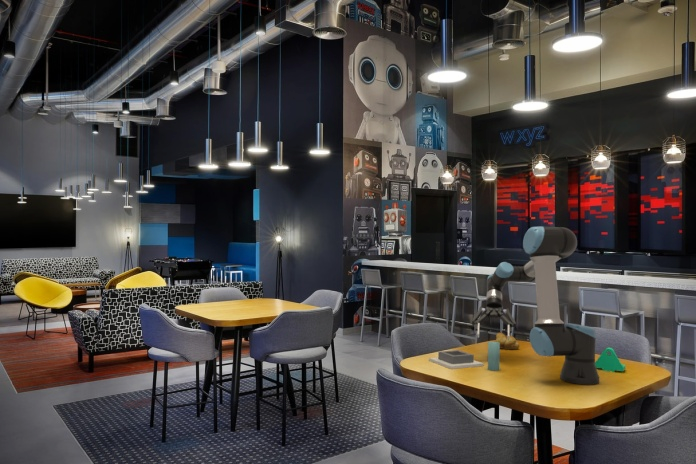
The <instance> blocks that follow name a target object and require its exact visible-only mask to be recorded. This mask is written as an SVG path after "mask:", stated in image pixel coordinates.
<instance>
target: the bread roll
mask: <svg viewBox="0 0 696 464" xmlns="http://www.w3.org/2000/svg"><path fill="white" fill-rule="evenodd" d="M495 342H499V343H500V349H504V350H517V349H519V348H520V343H519V342H518V341H517V339H516V338H515V337H514V336H513V335H509V340H508V335H505V334H504V333H503V332H497V333H496V335H495Z"/></svg>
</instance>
